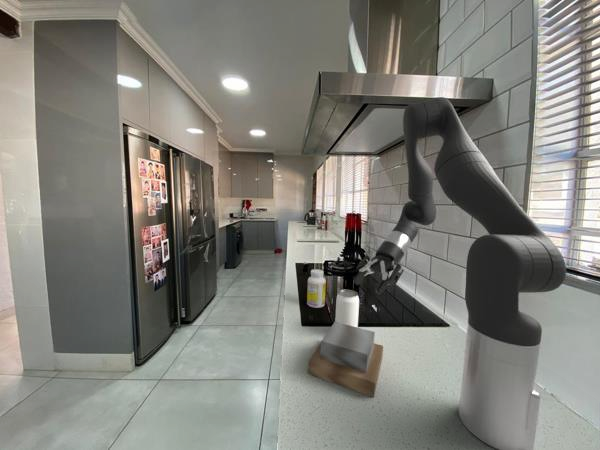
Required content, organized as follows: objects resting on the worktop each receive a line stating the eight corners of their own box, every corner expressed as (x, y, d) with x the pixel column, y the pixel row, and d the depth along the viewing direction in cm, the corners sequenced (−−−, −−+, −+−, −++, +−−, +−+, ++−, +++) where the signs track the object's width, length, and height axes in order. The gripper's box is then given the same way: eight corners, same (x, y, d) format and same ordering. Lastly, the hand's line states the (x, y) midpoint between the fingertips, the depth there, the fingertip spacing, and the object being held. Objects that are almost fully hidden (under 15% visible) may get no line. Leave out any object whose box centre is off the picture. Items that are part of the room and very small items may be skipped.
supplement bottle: (320, 300, 93) (322, 268, 92) (327, 307, 87) (329, 273, 86) (304, 301, 91) (305, 268, 90) (310, 309, 85) (311, 273, 84)
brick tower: (382, 357, 59) (384, 330, 59) (373, 397, 47) (376, 363, 46) (328, 341, 65) (329, 316, 65) (307, 373, 53) (309, 342, 52)
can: (340, 340, 66) (342, 297, 65) (331, 328, 73) (333, 289, 72) (361, 337, 68) (363, 296, 67) (350, 326, 74) (352, 288, 73)
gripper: (371, 237, 82) (344, 273, 77) (408, 244, 70) (378, 287, 65) (381, 251, 85) (355, 287, 80) (418, 260, 73) (390, 303, 68)
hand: (365, 287), depth 73 cm, fingers open, 8 cm apart
